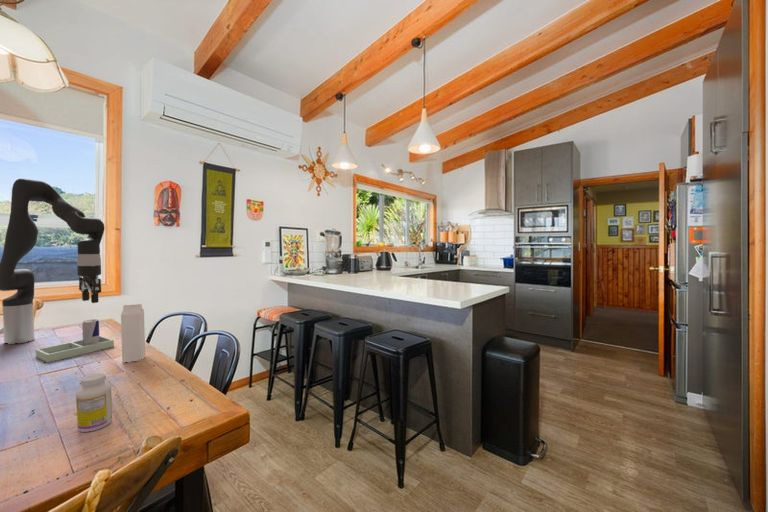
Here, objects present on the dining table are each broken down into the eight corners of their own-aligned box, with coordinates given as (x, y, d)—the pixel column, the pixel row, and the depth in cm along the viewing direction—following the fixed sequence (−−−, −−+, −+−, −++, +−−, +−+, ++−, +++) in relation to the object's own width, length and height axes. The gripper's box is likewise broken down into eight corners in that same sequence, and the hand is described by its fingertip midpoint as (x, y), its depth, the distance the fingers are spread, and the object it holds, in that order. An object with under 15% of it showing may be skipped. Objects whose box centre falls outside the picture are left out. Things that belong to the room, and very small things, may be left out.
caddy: (36, 356, 129) (35, 349, 129) (101, 342, 147) (100, 335, 147) (47, 362, 123) (47, 354, 123) (113, 346, 142) (113, 339, 142)
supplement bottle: (92, 418, 85) (90, 371, 85) (118, 417, 86) (117, 371, 85) (69, 434, 79) (67, 382, 78) (98, 432, 79) (96, 382, 79)
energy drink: (103, 346, 142) (102, 319, 142) (90, 350, 137) (90, 322, 136) (92, 345, 143) (91, 319, 142) (79, 349, 137) (78, 322, 137)
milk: (141, 361, 126) (139, 305, 124) (121, 363, 123) (120, 306, 122) (145, 356, 131) (144, 302, 130) (127, 357, 129) (125, 303, 127)
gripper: (70, 264, 138) (71, 301, 139) (85, 265, 131) (86, 305, 132) (92, 263, 145) (93, 298, 145) (108, 264, 138) (108, 302, 139)
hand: (90, 301), depth 139 cm, fingers open, 8 cm apart
